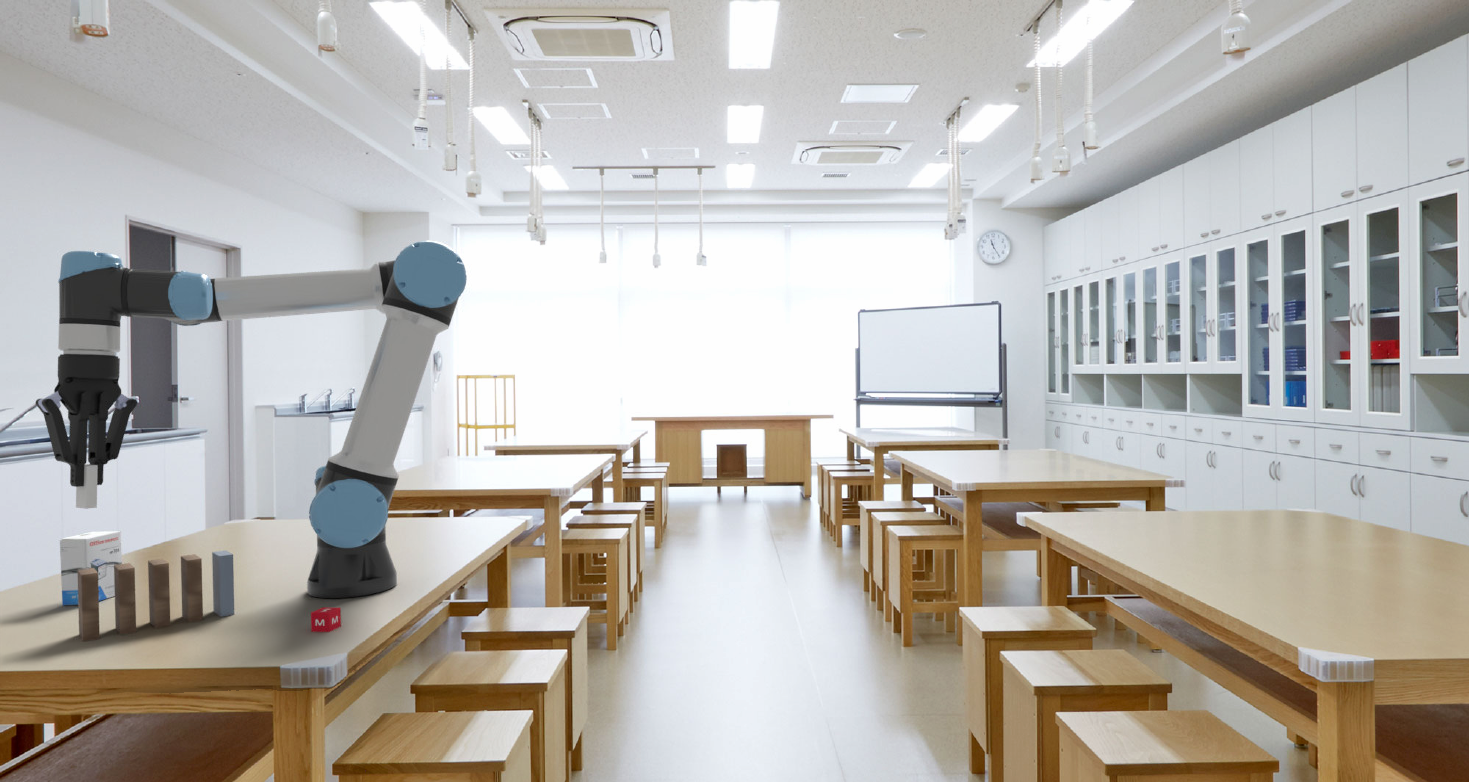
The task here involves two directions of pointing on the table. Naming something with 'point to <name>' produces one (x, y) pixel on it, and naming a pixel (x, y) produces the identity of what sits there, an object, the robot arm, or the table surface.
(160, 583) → the domino
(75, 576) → the ink box
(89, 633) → the end domino
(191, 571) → the domino
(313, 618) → the red letter cube
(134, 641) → the table surface
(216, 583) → the domino
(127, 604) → the domino
